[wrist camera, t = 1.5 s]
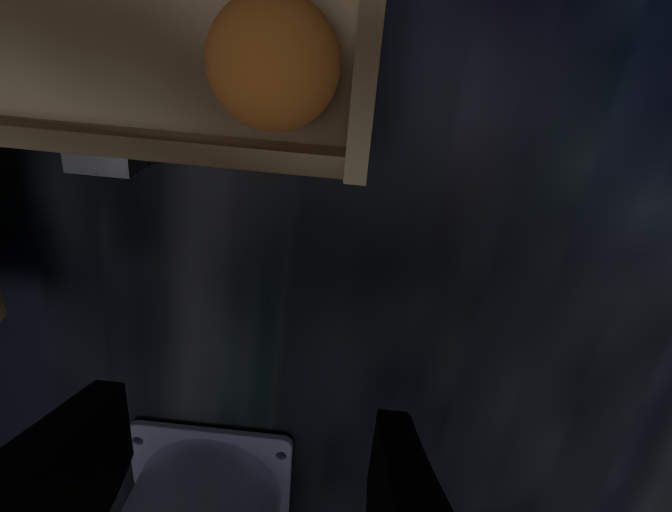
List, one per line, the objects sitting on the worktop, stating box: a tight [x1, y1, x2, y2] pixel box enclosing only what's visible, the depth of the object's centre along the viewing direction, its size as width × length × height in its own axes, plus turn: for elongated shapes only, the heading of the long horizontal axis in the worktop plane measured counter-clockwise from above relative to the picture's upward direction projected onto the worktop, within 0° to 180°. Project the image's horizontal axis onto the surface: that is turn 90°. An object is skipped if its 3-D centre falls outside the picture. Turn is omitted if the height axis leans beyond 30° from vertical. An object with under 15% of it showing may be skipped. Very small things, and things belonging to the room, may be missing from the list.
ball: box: [205, 0, 341, 132], centre depth 12 cm, size 3×3×3 cm
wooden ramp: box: [0, 0, 386, 321], centre depth 16 cm, size 13×16×5 cm
